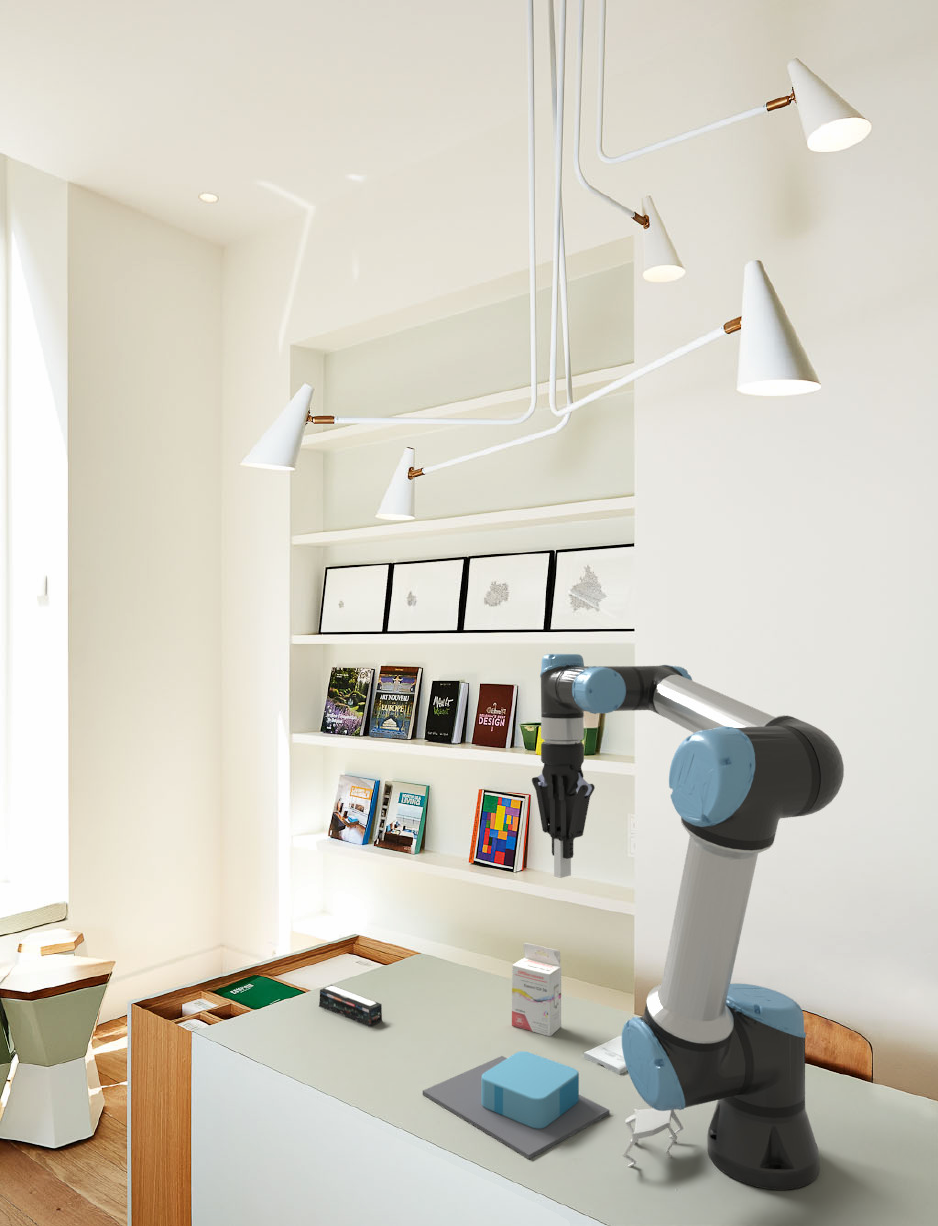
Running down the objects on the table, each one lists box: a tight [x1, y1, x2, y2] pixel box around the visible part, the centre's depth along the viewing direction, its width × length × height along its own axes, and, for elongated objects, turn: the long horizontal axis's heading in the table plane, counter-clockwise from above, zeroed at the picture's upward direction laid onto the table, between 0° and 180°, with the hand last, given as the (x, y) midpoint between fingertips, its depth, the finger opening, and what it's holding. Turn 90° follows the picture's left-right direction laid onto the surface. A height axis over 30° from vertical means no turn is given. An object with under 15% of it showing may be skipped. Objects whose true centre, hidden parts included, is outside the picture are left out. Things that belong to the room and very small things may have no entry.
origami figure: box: [622, 1107, 684, 1168], centre depth 127 cm, size 12×8×5 cm
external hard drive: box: [582, 1034, 628, 1076], centre depth 157 cm, size 2×8×12 cm
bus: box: [318, 983, 383, 1027], centre depth 172 cm, size 14×25×4 cm, turn 50°
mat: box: [422, 1055, 611, 1160], centre depth 140 cm, size 24×18×1 cm
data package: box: [481, 1050, 580, 1129], centre depth 139 cm, size 12×4×12 cm
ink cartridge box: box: [511, 942, 562, 1037], centre depth 168 cm, size 9×5×15 cm, turn 58°
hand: (562, 875), depth 155 cm, fingers closed
